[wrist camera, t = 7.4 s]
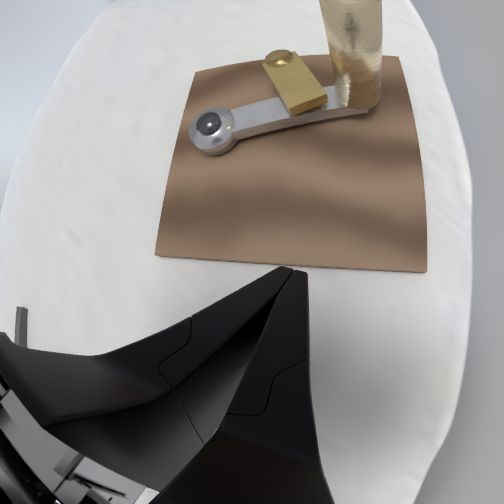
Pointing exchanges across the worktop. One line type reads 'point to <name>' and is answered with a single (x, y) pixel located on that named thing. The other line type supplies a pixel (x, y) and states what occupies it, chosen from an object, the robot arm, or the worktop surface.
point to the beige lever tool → (339, 96)
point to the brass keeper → (294, 81)
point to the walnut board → (300, 182)
